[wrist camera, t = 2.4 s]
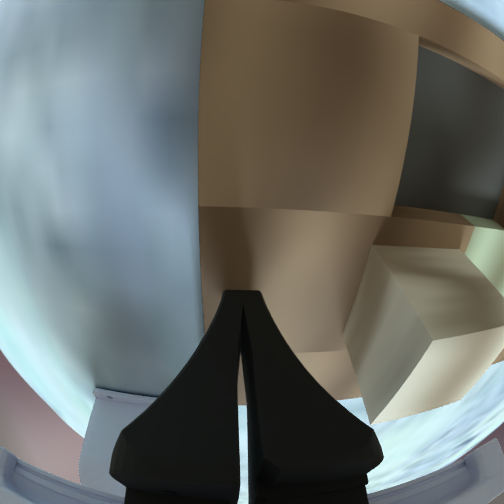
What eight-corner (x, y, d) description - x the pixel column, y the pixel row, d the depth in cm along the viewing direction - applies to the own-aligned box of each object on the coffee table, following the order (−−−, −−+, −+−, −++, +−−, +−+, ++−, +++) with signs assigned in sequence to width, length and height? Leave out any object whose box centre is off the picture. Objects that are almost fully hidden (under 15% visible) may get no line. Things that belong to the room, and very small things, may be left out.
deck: (212, 385, 18) (211, 404, 16) (214, -34, 6) (210, -50, 5) (504, 347, 19) (510, 357, 18) (588, 136, 8) (600, 142, 7)
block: (342, 334, 13) (370, 424, 9) (371, 245, 11) (432, 340, 6) (422, 327, 14) (460, 399, 9) (459, 249, 11) (522, 320, 7)
